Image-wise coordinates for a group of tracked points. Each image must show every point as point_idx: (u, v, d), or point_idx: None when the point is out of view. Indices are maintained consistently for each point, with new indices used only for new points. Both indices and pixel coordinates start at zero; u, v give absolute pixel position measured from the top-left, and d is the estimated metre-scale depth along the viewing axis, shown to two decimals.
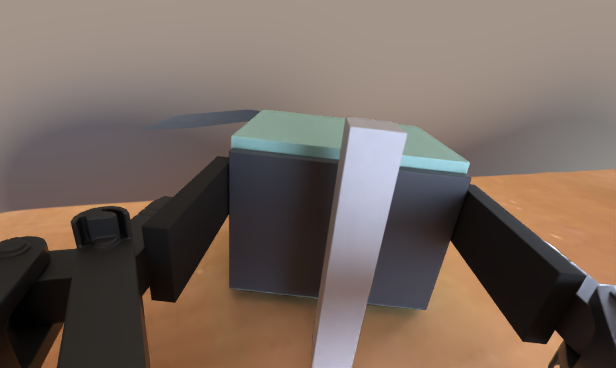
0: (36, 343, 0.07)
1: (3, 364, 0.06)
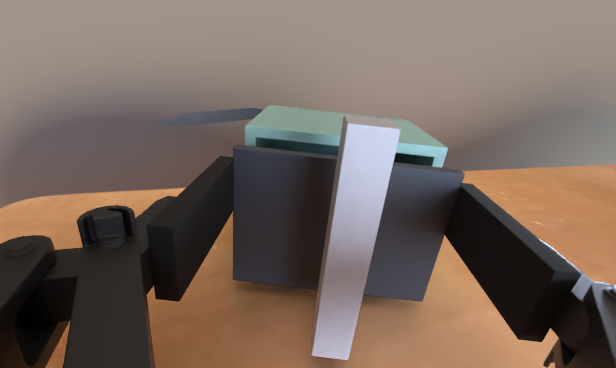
0: (42, 341, 0.07)
1: (9, 362, 0.06)
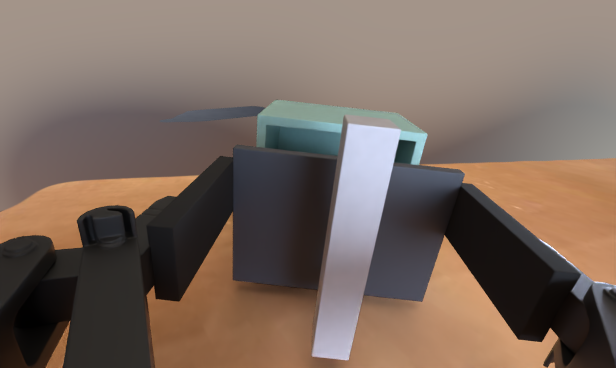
0: (42, 341, 0.07)
1: (9, 362, 0.06)
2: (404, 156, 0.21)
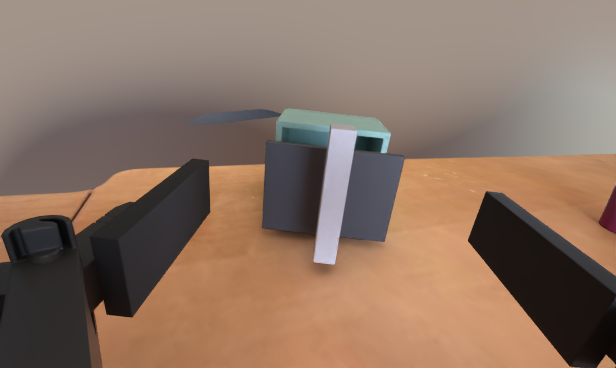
0: None
1: None
2: (377, 149, 0.30)
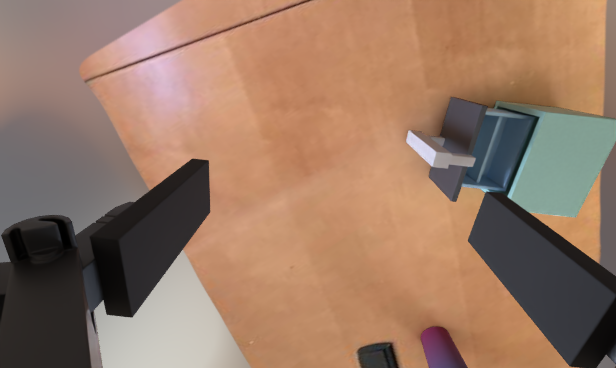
0: None
1: None
2: None
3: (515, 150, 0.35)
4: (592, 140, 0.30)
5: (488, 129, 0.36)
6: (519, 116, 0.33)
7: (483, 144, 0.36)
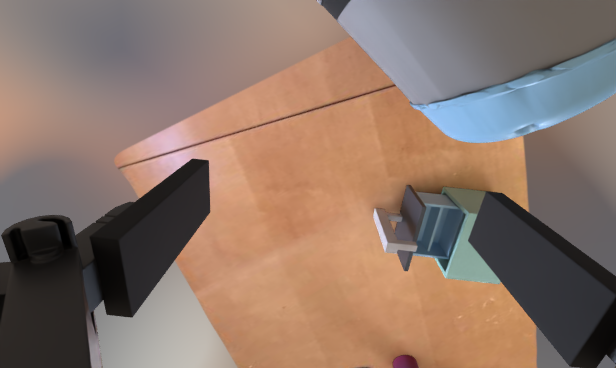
0: None
1: None
2: None
3: (454, 229, 0.45)
4: None
5: (435, 212, 0.46)
6: (455, 207, 0.43)
7: (432, 222, 0.46)
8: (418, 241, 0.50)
